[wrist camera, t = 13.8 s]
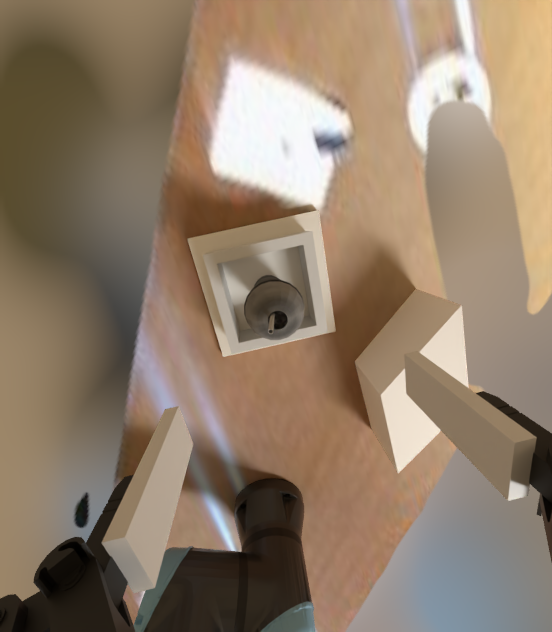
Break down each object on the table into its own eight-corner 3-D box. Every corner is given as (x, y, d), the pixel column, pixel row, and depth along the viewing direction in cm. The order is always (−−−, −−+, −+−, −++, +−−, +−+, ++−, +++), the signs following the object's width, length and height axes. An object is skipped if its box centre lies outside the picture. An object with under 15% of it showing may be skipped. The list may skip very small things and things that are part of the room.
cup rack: (334, 329, 47) (345, 343, 41) (223, 354, 46) (219, 371, 41) (317, 210, 40) (328, 207, 34) (188, 238, 40) (178, 239, 34)
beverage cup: (277, 317, 44) (297, 384, 25) (237, 298, 42) (227, 354, 23) (299, 279, 42) (338, 320, 23) (258, 257, 41) (265, 282, 22)
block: (336, 426, 54) (356, 471, 44) (375, 282, 45) (411, 298, 35) (404, 430, 56) (437, 475, 46) (453, 293, 47) (509, 311, 37)
